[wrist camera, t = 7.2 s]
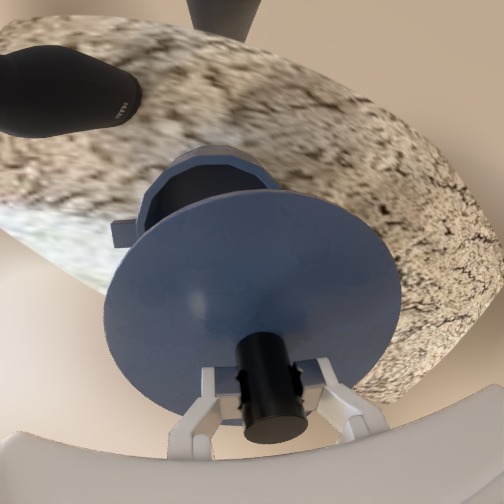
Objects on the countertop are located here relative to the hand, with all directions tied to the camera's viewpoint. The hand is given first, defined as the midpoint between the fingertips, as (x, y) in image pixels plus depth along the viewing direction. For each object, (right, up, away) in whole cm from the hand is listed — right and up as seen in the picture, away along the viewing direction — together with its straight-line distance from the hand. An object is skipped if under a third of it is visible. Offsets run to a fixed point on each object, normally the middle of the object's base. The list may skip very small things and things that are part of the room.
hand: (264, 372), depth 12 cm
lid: (0, +1, +2) cm, 2 cm away
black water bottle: (-15, +22, +14) cm, 30 cm away
